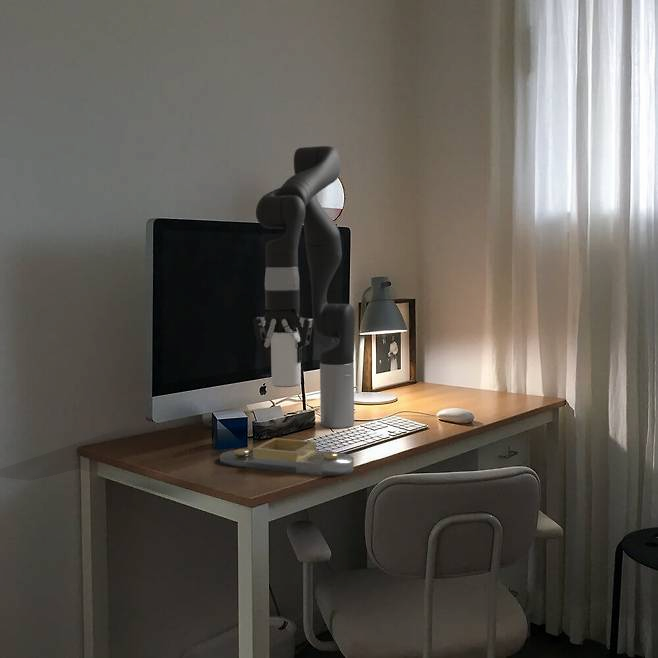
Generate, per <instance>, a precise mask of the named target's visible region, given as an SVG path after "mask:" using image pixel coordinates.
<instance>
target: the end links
mask: <svg viewBox="0 0 658 658" xmlns="http://www.w3.org/2000/svg"><path fill="white" fill-rule="evenodd" d="M354 459H355V458H354V456H352V455H350V454H348V453H343V452H334V451H325V450H324V451H322V450H317V441H311V440H303V439H301V440H300V439H289V438H288V439H287V438H279V437H273V438H272V439H269V440H268V441H265V442H263V443H261V444H260V445H257V446H256V447H253V448H252V449H249V448H238V449H232V450H228V451H225V452H224V451H223V452H222V453H221V454H220V455H219V461H220V463H221V464H222V465H226V466H230V467H231V466H232V467H240V468H250V469H258V470H270V471H277V472H278V471H279V472H288V473H296V474H303V475H307V474H308V475H314V476H324V477H334V476H344V475H348V474H350V473H352V472H353V471H354V469H355V464H354V461H355V460H354Z"/></svg>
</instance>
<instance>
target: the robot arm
mask: <svg viewBox="0 0 658 658" xmlns="http://www.w3.org/2000/svg"><path fill="white" fill-rule="evenodd" d="M293 170H294V175H292V176H290V177H289V178H288V179H287V180H286V181H285V182H284V183H283V184H282V186H280V187H279V188H276V189H274V190H272V191H269V192H267V193H266V194H264V195H262V197H261V198H260V199H259V201H258V202H257V205H256V210H255V217H256V219H257V222H258V224H259V225H260V226H262V227H263V228H265V229H271V230H272V229H273V230H274V229H275V230H276V229H286V230H285V233H284V234H283V235H282V236H281V237H279V238H276V239H272V240H269V241H267V242H266V244H265V275H264V295H265V297H264V298H265V301H264V302H265V315H264V316H257V317H254V318H253V320H252V323H253V327H254V331H255V338H256V343H257V344H258V345H262V346H264V348H265V361H266V362H267V364H268V365H271V337H272V335H273V332H291V336H292V337H293V338H295V336H294V334H293V333H292V332H296V331H298V335H299V337H300V342H297V340H296V339H295V344H296V345H295V347H296V349H297V363H300V362H301V363H302V361H303V356H302V355H303V354H302V353H303V351H302V349H303V347H306V346H308V345H310V343H311V338H312V331H313V330H314V332H315V334H316V336H317V337H321V338H333V339H334V338H335V339H336V338H337V339H338V338H339V341H338V344H337V345H335V346H334V347H332V348H329V349H326V350H323V351H321V352H320V354H319V383H320V384H319V385H320V386H319V388H320V389H319V391H320V397H319V398H320V399H319V400H320V425H321V426H322V427H325V428H331V429H332V428H333V429H340V428H341V429H342V428H349V427H352V426H355V377H354V376H355V373H354V372H355V371H354V370H355V368H354V367H355V366H354V365H355V363H354V361H355V359H354V355H355V332H356V331H355V330H356V314H355V313H356V312H355V309H354V306H353V305H351V304H349V303H329V302H328V298H327V296H328V294H327V293H328V289H329V286H330V283H331V281H332V280H333V277H334V276H335V273H336V271H337V270H338V268H339V266H340V264H341V262H342V257H343V252H342V251H343V250H342V240H341V235H340V230H339V228H338V227H337V225H336V224H335V222H334V220H332V218H331V217H330V216H329V214H328V213H327V212H326V210H325V209H324V208H323V207H322V205H321V203H320V202H319V199H318V197H317V196H316V195H317V194H319V192H321V191H322V190H324V189H325V188H327V187H328V186H330V185H331V184H333V183H334V182H336V180H338V178H339V176H340V172H341V159H340V155H339V152H338V150H337V149H336V148H335V147H333V146H329V145H326V146H325V145H324V146H323V145H322V146H321V145H320V146H308V147H307V146H305V147H304V146H303V147H299V148H296V149H295V152H294V155H293ZM302 228H303V232H304V240H305V241H304V242H305V250H306V258H307V263H308V270H309V278H310V286H311V305H312V317H310V318H306V317H302V315H301V313H300V308H301V305H300V302H301V301H300V299H301V296H300V273H299V258H298V257H299V255H298V254H299V253H298V252H299V242H300V238H301V233H302ZM266 324H267V326H268V327H269V328H268V331H267V332H266V329H265V328H266V327H265V326H266ZM299 325H300V326H301V327H302V331H301V334H300V331H299V329H298V326H299ZM313 328H314V329H313Z"/></svg>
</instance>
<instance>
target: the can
mask: <svg viewBox="0 0 658 658" xmlns="http://www.w3.org/2000/svg"><path fill="white" fill-rule="evenodd" d="M298 331H299V330H298ZM298 331H296V332H292V333H293V334H294V336H295V338H293V337H292V336H291V332H273V335H272V337H271V364H270V366H271V367H270V369H271V370H270V371H271V385H272V386H274V387H276V388H293V387H298V386H301V385H300V384H301V383H302V379H301V378H302V373H301V372H302V370H301V369H302V367H301V366H302V365H301V363H302V361H301V362H300V363H297V349H296V347H295V345H296V344H295V339H296V340H297V342H300V339H301V336H300V337H299V335H298Z"/></svg>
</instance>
